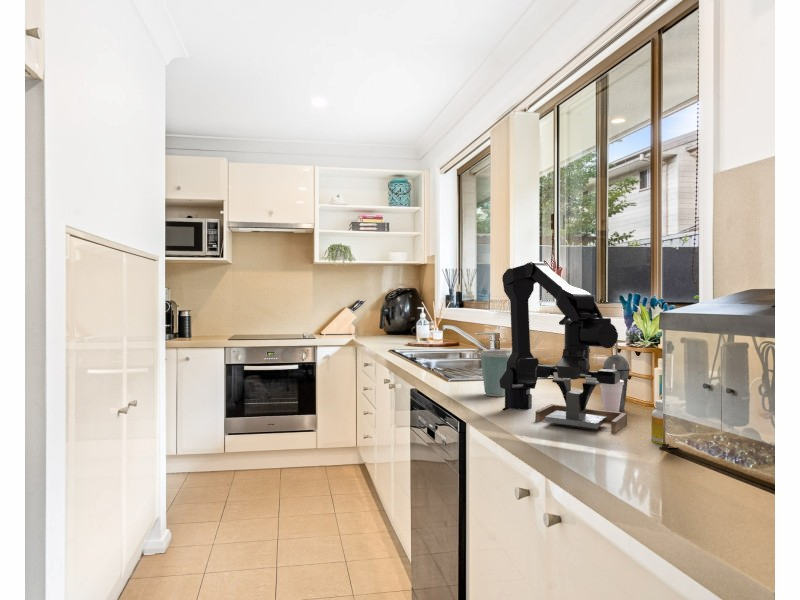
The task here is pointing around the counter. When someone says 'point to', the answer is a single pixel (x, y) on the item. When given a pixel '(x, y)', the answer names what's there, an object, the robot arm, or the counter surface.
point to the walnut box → (612, 418)
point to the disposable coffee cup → (494, 370)
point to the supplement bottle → (657, 423)
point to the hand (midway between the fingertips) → (575, 409)
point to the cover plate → (574, 422)
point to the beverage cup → (622, 368)
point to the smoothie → (611, 395)
